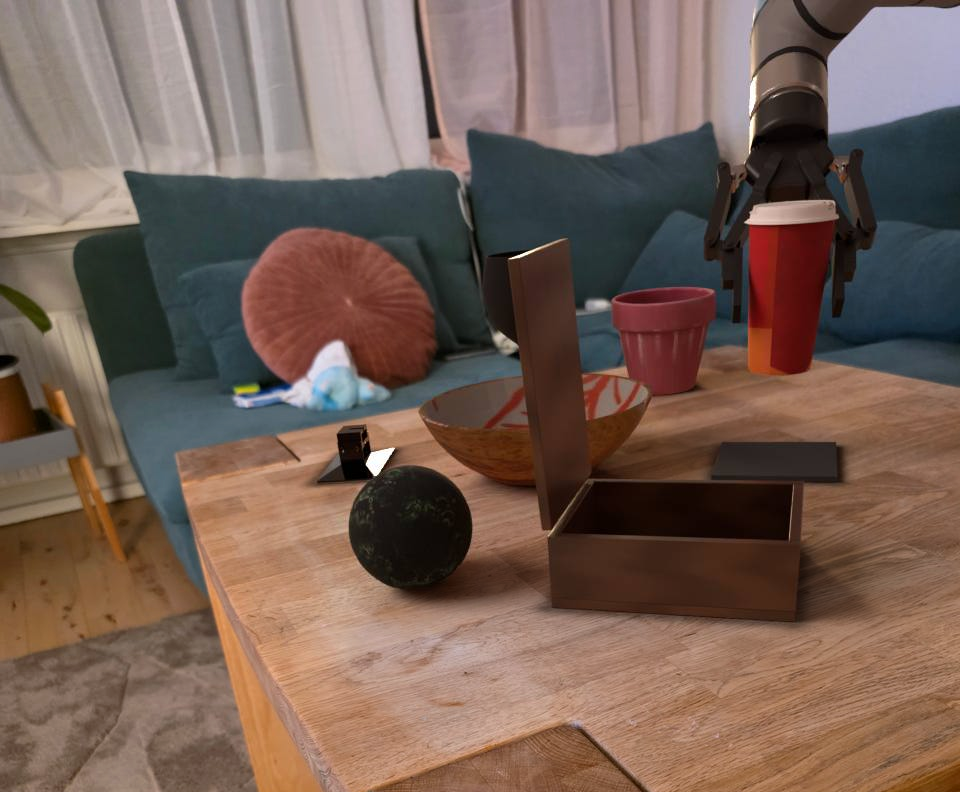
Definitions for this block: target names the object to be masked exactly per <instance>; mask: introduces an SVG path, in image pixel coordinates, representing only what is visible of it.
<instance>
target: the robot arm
mask: <svg viewBox="0 0 960 792" xmlns="http://www.w3.org/2000/svg"><path fill="white" fill-rule="evenodd" d="M909 7H910V8H913V7H914V8H936V9H943V10H945V9H954V8H957V7H960V0H757V1H756V3H755V5H754V10H753V15H752V26H751V28H750V35H749V48H750V88H749V132H748V133H749V134H748V140H749V141H748V156H747V158H745V161H744V163H742V164H739V165H738V164H737V165H733V166H731V165H730V163H729V162H727V161H721V162H719V163H718V164H717V167H716V189H717V190H716V192H715V196H714V200H713V202H712V203H713V204H712V208H711V210H710V215H709V219H708V222H707V225H706V229H705V232H704V236H703V259H704V261H706V262H713V261H714V260H715V261H718V262H720V264H721V272H720V273H721V275H720V276H721V277H720V278H721V279H720V286H721V289H722V290H723V291H728V290H729V291H731V290H732V314H731V315H732V316H731V317H732V318H731V324H741V319H742V305H743V304H742V302H743V301H742V300H743V264H744V263H743V259H744V245H745V244H746V242H747V240H748V239H749V224H746V223H744V222H745V221H747V219H750V213H749V212H751V211H752V210H753V207H754V206H755V205H759V204H765V203H775V202H787V201H805V200H832V201H834V202H835V210H836V214H838V216H839V218H838V219H835V223H834V230H833V237H832V244H833V249H832V255H831V259H830V260H831V265H830V267H831V319H837V318H841V316H842V312H843V308H844V305H845V300H846V288H845V287H846V286H845V285H846V284H845V283H853V281H854V278H855V275H856V271H857V267H858V266H857V252H858V251H860V250H862V251H868V250H871V249H872V248H873V246H874V242H875V239H876V238H875V237H876V234H877V231H878V224H877V220H876V215H875V212H874V209H873V206H872V202H871V198H870V195H869V191H868V188H867V184H866V181H865V178H864V174H863V170H862V165H863V159H864V150H863V149H861V148H854V149H852V150H851V151H850V153H849V155H835V154H834V151H833V150H832V148H830V145H829V111H828V110H829V80H828V79H829V67H828V64H829V63H828V60H829V57H830V55H831V53H832V52H833V51H834V50H835V49H836V48H837V47H838V46H839V45H840V44H841V42H842V41H844V39H845V38H847V37H848V35H849V34H851V33H852V31H853V30H854V29H855V28H856V27H857V26H858V25H859V24H860V23H861V22H862V21H863V20H864V18H865V17H867V15H868V14H870V12H871V11H872V10H874V9H875V8H909ZM831 172H834V173H835V174H836V176H837V179H838V180H839V183H840V184H844V185H843V189H844V195H845V196H844V197H845V199H846V203H847V207H848V210H849V213H850V217H851V221H852V223H851V221H850V219H849V218H848V216H847V215H846V213H845V212H844V210H843V208H842V206H841V205H840V204H839V202H838V200H837V199H836V198H835V196H834V195H833V193H832V192H831V190H830V188H829V186H828V185H827V180H826V178H827V177H828V176H829V175H830V173H831ZM743 180H744V181H745V182H746V183H747V184H748V185H749V186H750V188H752V190H751V192H750V194H749V196H748V198H747V200H746V201H745V203H744V205H743V207H742V208H741V210H740V211H739V214H738V215H737V217H736V219H735V221H734V222H733V224H732V226H731V227H730V230H729V231H728V232H727V234H726V236H725V238H724V240H723V239H721V238H722V235H723V232H724V227H725V224H726V221H727V216H728V213H729V209H730V206H731V200H732V194H734V193H735V192H736V189H738V188H739V186H740V182H741V181H743Z"/></svg>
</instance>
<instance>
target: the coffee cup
mask: <svg viewBox="0 0 960 792" xmlns="http://www.w3.org/2000/svg"><path fill="white" fill-rule="evenodd" d="M749 213H750V219H747V221H745V222H744V223H746V224H749V237H748V297H747V298H748V301H747V302H748V305H747V306H748V308H747V309H748V313H747V314H748V315H747V363H748V371H749V372H750V373H753V374H757V375H763V376H793V375H799V374H804V373H807V372H808V371H810V370H811V367H812V363H813V357H814V353H815V346H816V340H817V334H818V327H819V323H820V315H821V309H822V303H823V297H824V291H825V285H826V279H827V276H828V275H827V274H828V269H829V264H830V258H831V252H832V251H831V250H832V244H833V243H832V237H833V230H834V223H835V219H838V218H839V216H838V214H836V210H835V202H834V201H832V200H805V201H784V202H775V203H765V204H759V205H755V206H754V207H753V210H752V211H751V212H749Z"/></svg>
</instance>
